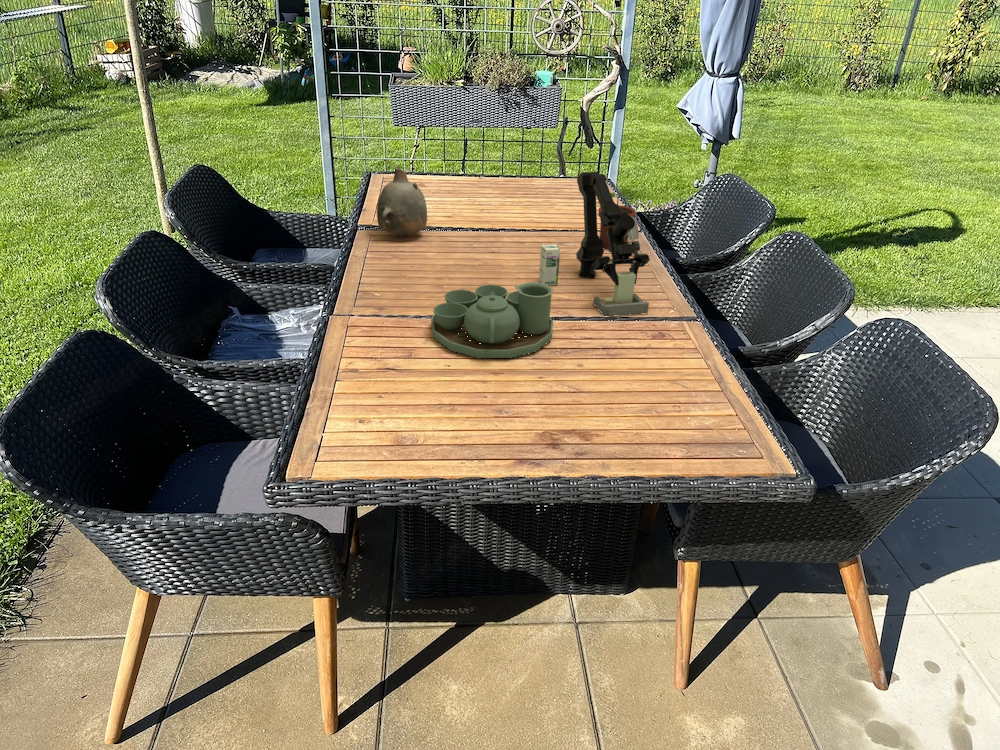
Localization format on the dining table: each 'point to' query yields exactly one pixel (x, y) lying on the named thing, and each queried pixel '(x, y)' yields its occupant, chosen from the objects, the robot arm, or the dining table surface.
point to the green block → (624, 287)
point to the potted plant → (603, 229)
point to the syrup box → (549, 264)
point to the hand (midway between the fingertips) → (626, 284)
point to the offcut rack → (621, 306)
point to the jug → (401, 206)
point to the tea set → (495, 320)
